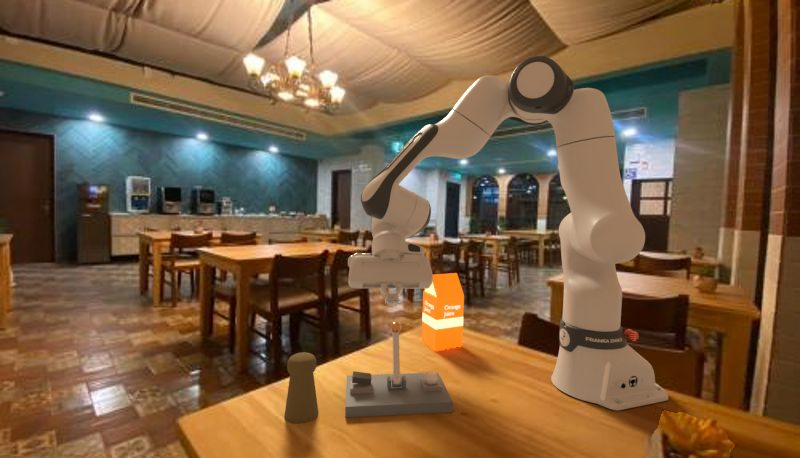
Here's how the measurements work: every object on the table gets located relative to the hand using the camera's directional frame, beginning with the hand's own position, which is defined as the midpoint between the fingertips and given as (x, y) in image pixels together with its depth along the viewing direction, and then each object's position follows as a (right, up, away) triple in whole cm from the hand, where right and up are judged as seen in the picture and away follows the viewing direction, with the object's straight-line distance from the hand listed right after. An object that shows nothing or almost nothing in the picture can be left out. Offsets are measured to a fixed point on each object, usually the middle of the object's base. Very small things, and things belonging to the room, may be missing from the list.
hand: (392, 302), depth 83 cm
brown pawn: (-16, -17, -16) cm, 29 cm away
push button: (+8, -14, -9) cm, 19 cm away
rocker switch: (-6, -13, -11) cm, 18 cm away
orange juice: (+14, -16, +19) cm, 28 cm away
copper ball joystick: (+1, -14, -10) cm, 17 cm away
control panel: (+1, -17, -10) cm, 20 cm away
